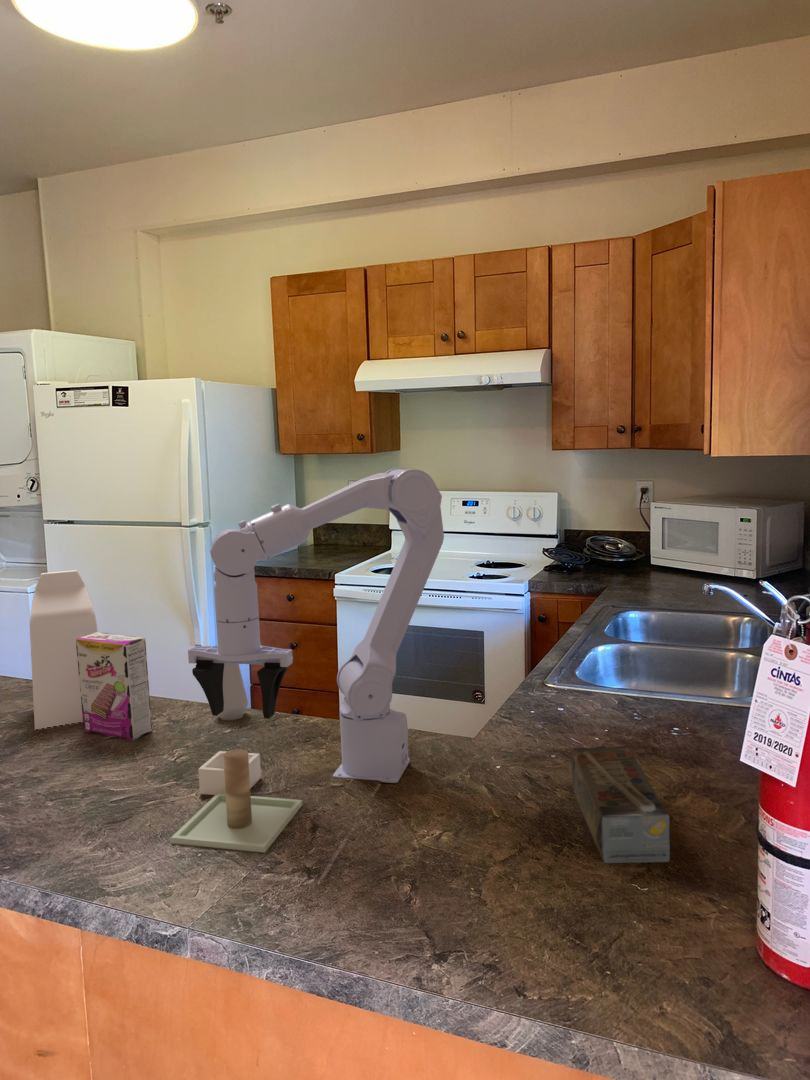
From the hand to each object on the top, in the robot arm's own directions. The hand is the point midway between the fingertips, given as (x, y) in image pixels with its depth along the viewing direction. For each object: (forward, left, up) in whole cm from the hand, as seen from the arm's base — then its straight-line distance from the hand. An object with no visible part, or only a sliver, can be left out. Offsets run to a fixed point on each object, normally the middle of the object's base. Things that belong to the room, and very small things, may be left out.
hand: (243, 714), depth 109 cm
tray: (-4, +11, -10) cm, 16 cm away
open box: (+2, +1, -10) cm, 11 cm away
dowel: (-4, +11, -10) cm, 15 cm away
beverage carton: (-50, +2, -11) cm, 51 cm away
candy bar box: (+31, -16, -11) cm, 36 cm away
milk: (+45, -23, -11) cm, 52 cm away
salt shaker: (+15, -26, -11) cm, 32 cm away
